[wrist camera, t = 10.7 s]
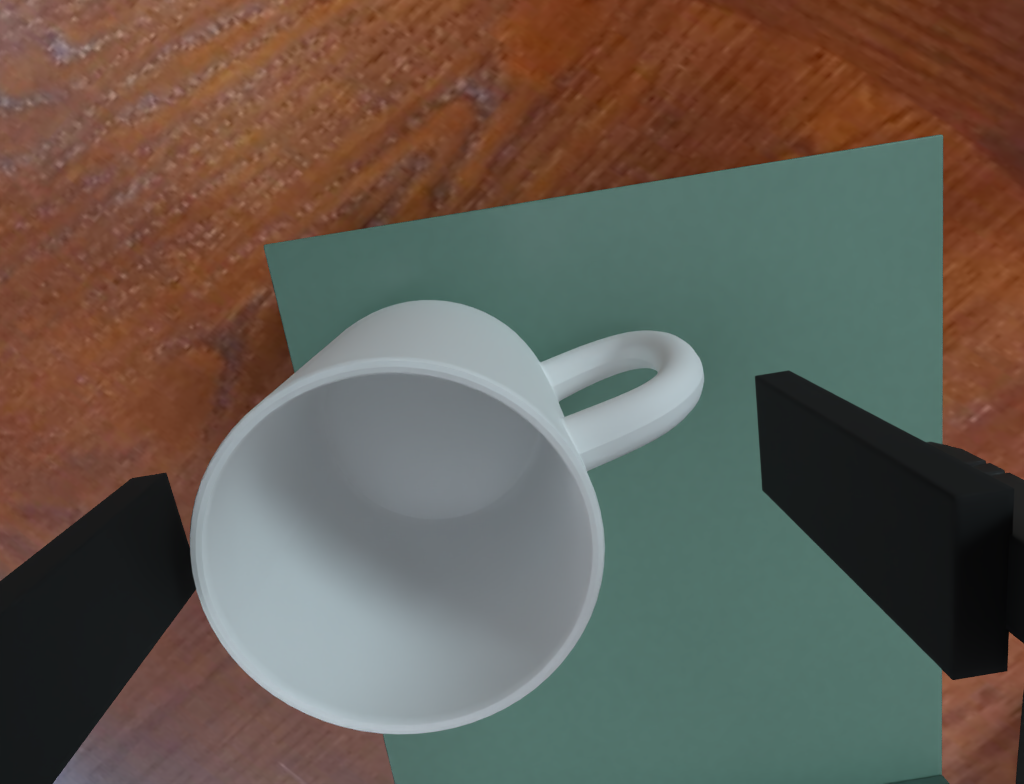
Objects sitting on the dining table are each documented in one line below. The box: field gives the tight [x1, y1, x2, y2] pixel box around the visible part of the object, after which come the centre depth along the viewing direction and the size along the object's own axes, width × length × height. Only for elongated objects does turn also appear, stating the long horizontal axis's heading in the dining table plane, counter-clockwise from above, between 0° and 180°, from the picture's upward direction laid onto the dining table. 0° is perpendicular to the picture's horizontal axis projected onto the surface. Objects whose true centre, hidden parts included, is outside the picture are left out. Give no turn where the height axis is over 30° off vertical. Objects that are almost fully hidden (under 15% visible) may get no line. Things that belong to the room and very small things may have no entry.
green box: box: [264, 135, 949, 784], centre depth 29 cm, size 26×22×11 cm
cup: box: [190, 300, 704, 734], centre depth 19 cm, size 8×12×10 cm
